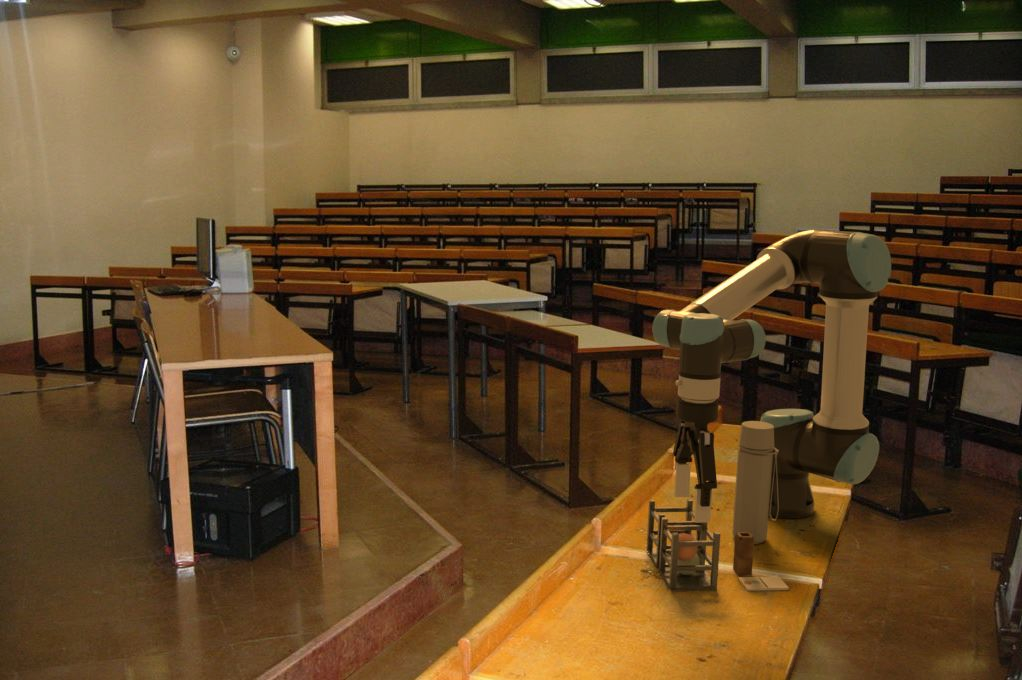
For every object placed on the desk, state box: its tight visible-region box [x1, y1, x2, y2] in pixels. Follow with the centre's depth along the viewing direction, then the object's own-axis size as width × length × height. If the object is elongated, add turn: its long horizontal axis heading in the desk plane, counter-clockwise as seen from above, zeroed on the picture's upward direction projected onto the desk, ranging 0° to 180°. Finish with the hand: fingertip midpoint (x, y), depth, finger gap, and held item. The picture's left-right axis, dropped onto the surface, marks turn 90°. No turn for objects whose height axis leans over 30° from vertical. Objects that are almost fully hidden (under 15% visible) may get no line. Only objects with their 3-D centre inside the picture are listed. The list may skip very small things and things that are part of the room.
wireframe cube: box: [646, 498, 701, 570], centre depth 194 cm, size 9×9×11 cm
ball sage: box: [677, 553, 700, 575], centre depth 186 cm, size 5×5×5 cm
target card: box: [737, 576, 790, 592], centre depth 185 cm, size 8×5×1 cm, turn 96°
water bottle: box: [731, 420, 779, 545], centre depth 205 cm, size 9×8×25 cm
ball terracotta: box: [670, 533, 698, 561], centre depth 183 cm, size 5×5×5 cm
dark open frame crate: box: [658, 516, 721, 592], centre depth 185 cm, size 9×9×11 cm
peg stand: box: [732, 532, 755, 576], centre depth 190 cm, size 3×3×8 cm
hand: (691, 508), depth 183 cm, fingers open, 13 cm apart
